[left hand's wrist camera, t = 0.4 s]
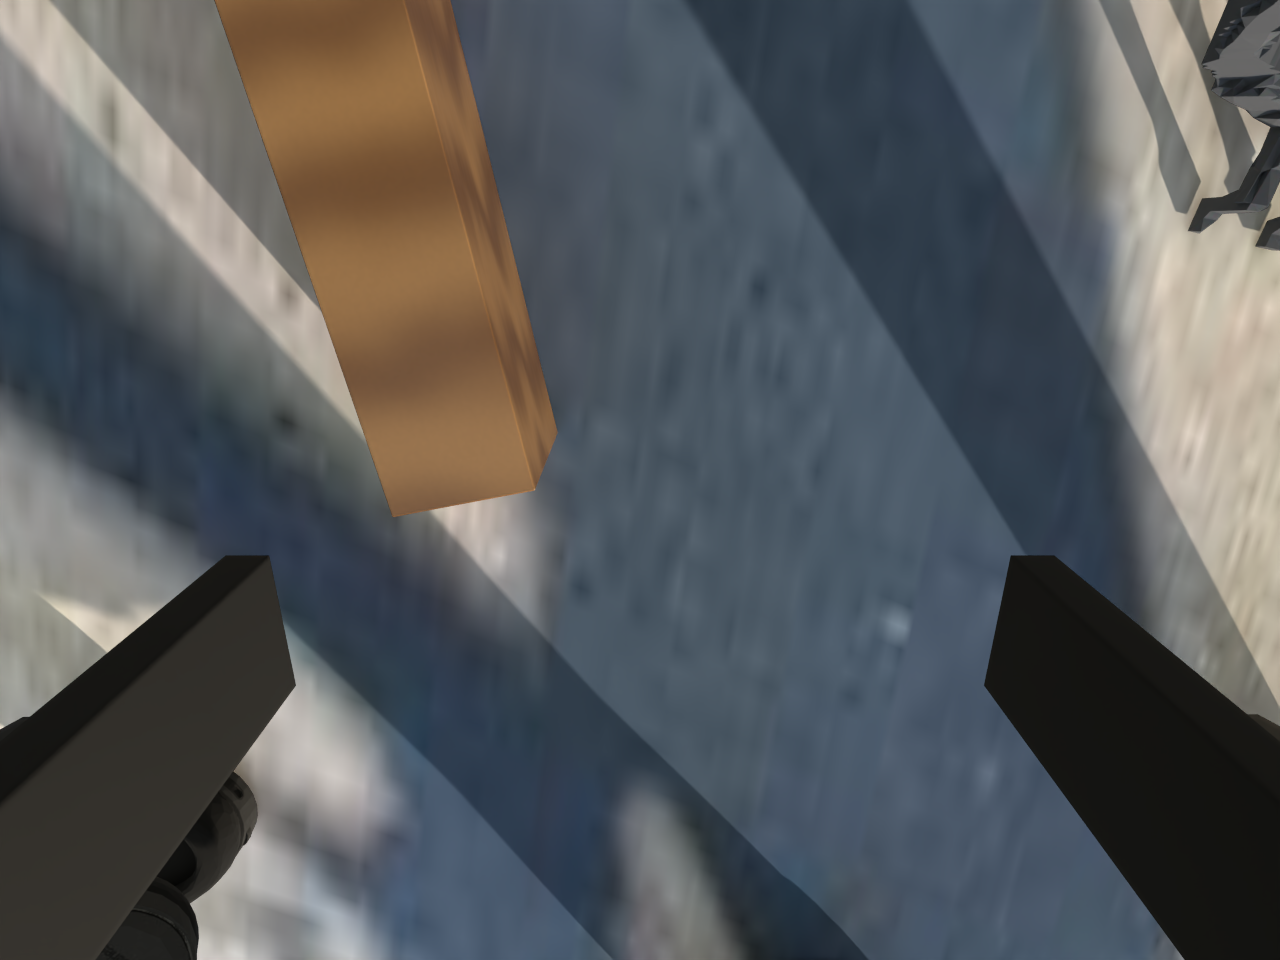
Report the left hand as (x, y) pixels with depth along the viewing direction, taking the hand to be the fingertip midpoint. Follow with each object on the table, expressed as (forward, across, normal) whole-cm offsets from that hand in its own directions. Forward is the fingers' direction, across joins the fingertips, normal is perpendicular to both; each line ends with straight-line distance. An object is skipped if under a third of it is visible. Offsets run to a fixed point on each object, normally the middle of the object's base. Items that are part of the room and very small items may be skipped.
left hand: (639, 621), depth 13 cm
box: (+25, +10, -7) cm, 27 cm away
